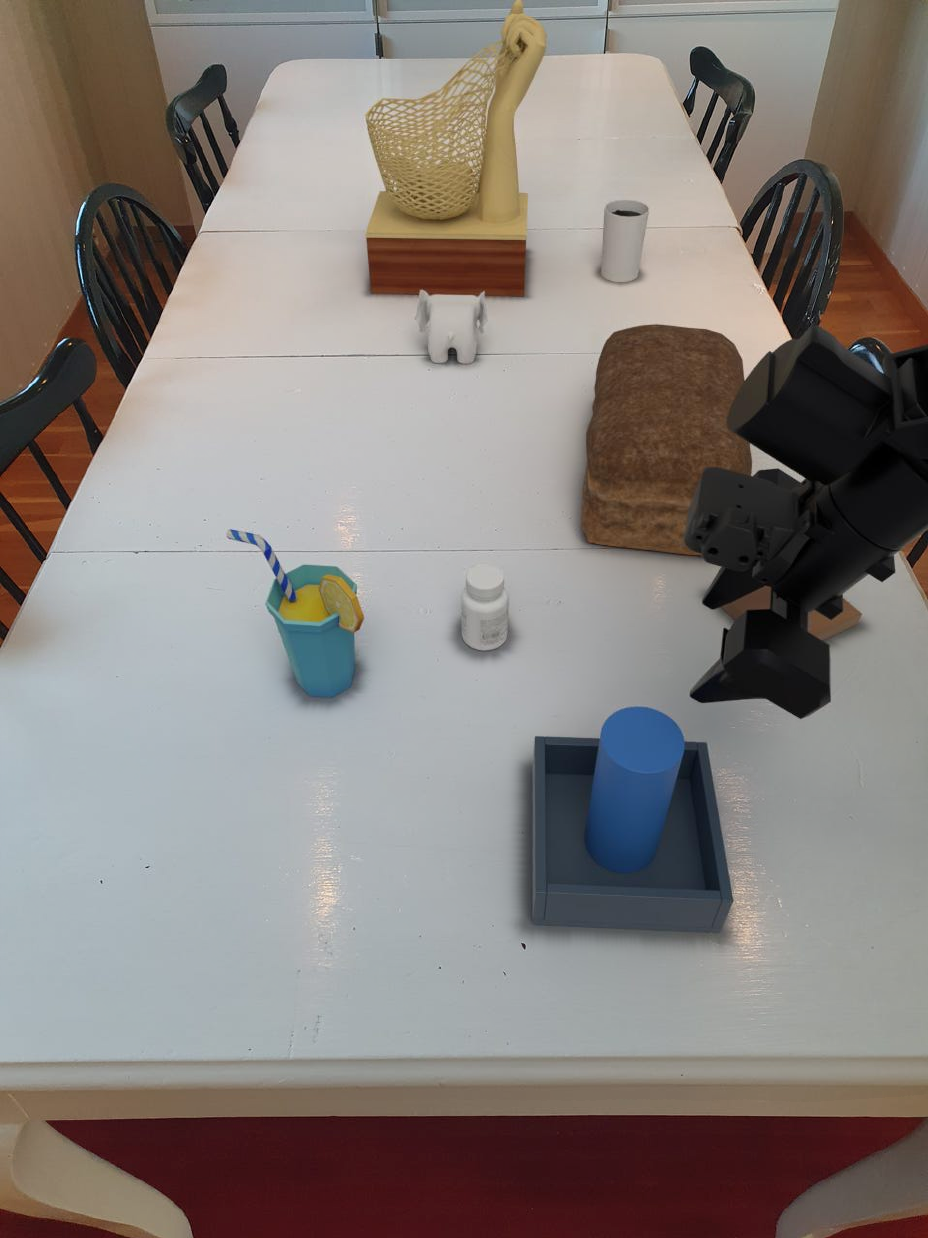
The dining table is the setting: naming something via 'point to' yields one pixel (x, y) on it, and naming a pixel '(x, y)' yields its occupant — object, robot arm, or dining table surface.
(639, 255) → the white cylindrical pot
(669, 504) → the bread
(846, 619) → the trivet
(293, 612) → the cup
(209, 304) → the dining table surface
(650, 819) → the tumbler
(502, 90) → the net sculpture trophy
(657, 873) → the tray
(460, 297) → the elephant figurine
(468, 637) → the pill bottle
